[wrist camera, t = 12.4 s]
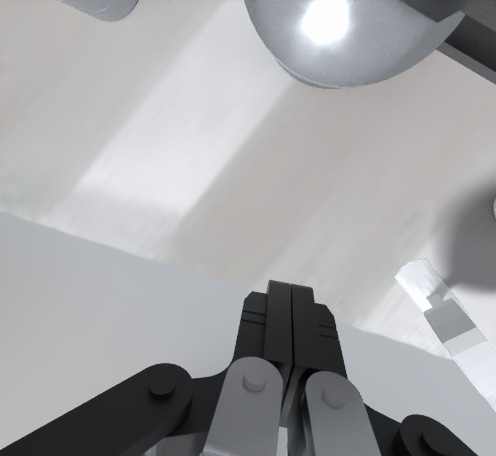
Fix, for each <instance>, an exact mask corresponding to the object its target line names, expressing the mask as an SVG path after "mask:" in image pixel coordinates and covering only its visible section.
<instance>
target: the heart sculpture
mask: <svg viewBox="0 0 496 456" xmlns="http://www.w3.org/2000/svg"><path fill="white" fill-rule="evenodd" d="M395 278H396V279H397V280H398V282H399V283H400V284H401V285H402V287H403V288H404V289H405V290H406V292H407V293H408V294H409V295H410V297H411V298H412V299H413V300H414V302H415V303H416V304H417V305H418V307H419V308H420V309H421V310H422V312H423V313H424V315H425V317H426V319H427V321H428V322H429V324H430V326H431V327H432V329H433V330H434V332H435V333H436V335H437V336H438V338H439V339H440V341H441V343H442V344H443V345H444V347H445V348H446V350H447V351H448V352H449V354H450V355H451V356H452V358H453V359H454V360H455V362H456V363H457V364H458V366H459V367H460V368H461V370H462V371H463V372H464V373H465V375H466V376H467V377H468V378H469V380H470V381H471V382H472V384H473V385H474V386H475V387H476V389H477V390H478V391H479V392H480V394H481V395H482V396H484V397H485V398H486V400H487V401H488V402H489V404H490V405H491V407H492V408H493V409H494V410H495V412H496V350H495V349H494V348H493V346H492V345H491V344H490V343H489V341H488V340H487V339H486V338H485V336H484V335H483V334H482V333H481V331H480V330H479V329H478V328H477V326H476V325H475V324H474V323H473V322H472V320H471V319H470V318H469V317H468V316H467V315H468V313H467V311H466V310H465V309H464V307H463V306H462V305H461V303H460V302H459V301H458V300H457V298H456V297H455V296H454V294H453V293H452V292H451V290H450V289H449V288H448V286H447V285H446V284H445V283H444V281H443V280H442V279H441V277H440V276H439V275H438V273H437V272H436V271H435V269H434V268H433V267H432V265H431V264H430V263H429V262H428V260H427V259H421V260H415V261H411V262H408V263H406V264H405V265H404V266H403V267H402V268H401V269H400V271H399V272H398V273H397V275H396V277H395Z"/></svg>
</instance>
